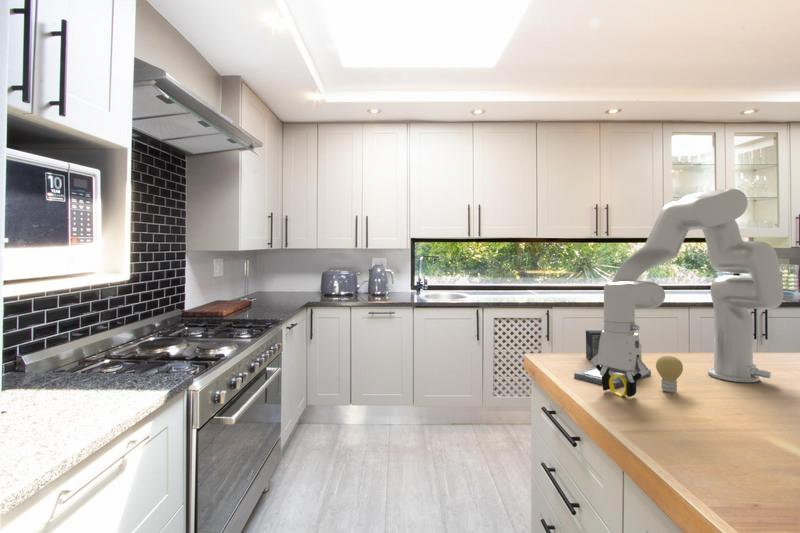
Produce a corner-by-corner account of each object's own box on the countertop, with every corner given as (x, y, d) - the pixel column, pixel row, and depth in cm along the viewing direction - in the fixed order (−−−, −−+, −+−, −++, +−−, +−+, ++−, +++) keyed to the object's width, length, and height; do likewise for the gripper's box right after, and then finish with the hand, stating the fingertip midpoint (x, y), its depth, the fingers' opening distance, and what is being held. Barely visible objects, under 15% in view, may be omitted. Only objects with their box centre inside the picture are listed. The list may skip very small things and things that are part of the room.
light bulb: (674, 396, 115) (674, 359, 114) (650, 389, 120) (651, 355, 120) (687, 392, 117) (687, 357, 117) (664, 386, 123) (664, 352, 123)
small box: (614, 357, 158) (614, 329, 157) (622, 362, 151) (622, 333, 151) (585, 357, 159) (585, 329, 158) (591, 361, 152) (591, 332, 152)
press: (650, 374, 135) (651, 345, 135) (615, 388, 122) (615, 355, 122) (610, 366, 146) (610, 338, 145) (574, 377, 133) (574, 347, 132)
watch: (606, 393, 119) (605, 372, 119) (614, 392, 119) (613, 371, 120) (623, 398, 113) (622, 376, 113) (632, 397, 114) (630, 375, 114)
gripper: (659, 330, 111) (658, 398, 112) (596, 322, 125) (596, 382, 126) (645, 333, 107) (645, 404, 107) (581, 324, 121) (581, 387, 121)
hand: (618, 391), depth 116 cm, fingers closed on watch, 5 cm apart
